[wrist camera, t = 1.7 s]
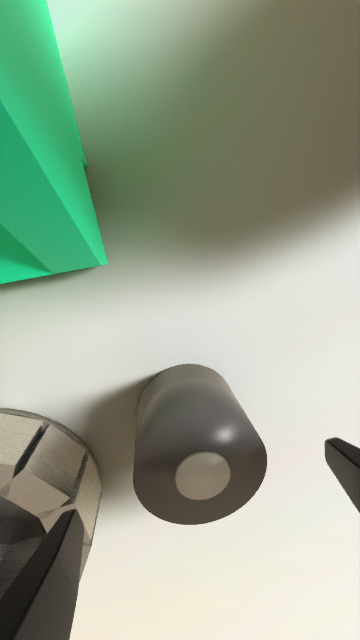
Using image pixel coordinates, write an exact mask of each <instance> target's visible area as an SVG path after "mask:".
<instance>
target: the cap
mask: <svg viewBox="0 0 360 640" xmlns="http://www.w3.org/2000/svg"><path fill="white" fill-rule="evenodd" d="M266 468H267V454H266V449H265V446H264V444H263V442H262V440H261V438H260V437H259V435H258V433H257V432H256V430H255V428H254V427H253V425H252V424H251V422H250V420H249V419H248V417H247V415H246V414H245V412H244V410H243V409H242V407H241V406H240V404H239V402H238V401H237V399H236V397H235V396H234V394H233V392H232V391H231V389H230V388H229V386H228V384H227V383H226V381H225V380H224V379H223V377H222V376H220V375H219V374H218V373H217V372H215V371H214V370H212V369H210V368H208V367H205V366H202V365H196V364H183V365H177V366H174V367H170V368H168V369H166V370H164V371H162V372H160V373H159V374H157V375H156V376H155V377H153V378H152V379H151V380H150V381H149V383H148V384H147V385H146V386H145V388H144V390H143V391H142V394H141V396H140V399H139V403H138V414H137V428H136V443H135V457H134V471H133V485H134V489H135V493H136V495H137V497H138V499H139V501H140V502H141V504H142V505H143V506H144V507H145V508H146V509H147V510H148V511H149V512H150V513H152V514H153V515H155V516H156V517H158V518H160V519H162V520H165V521H168V522H171V523H176V524H184V525H196V524H204V523H208V522H213V521H216V520H219V519H221V518H224V517H226V516H228V515H230V514H232V513H233V512H235V511H237V510H238V509H239V508H241V507H242V506H243V505H245V504H246V503H247V502H248V501H249V500H250V499H251V498H252V497H253V496H254V494H255V493H256V492H257V490H258V489H259V487H260V485H261V483H262V481H263V479H264V476H265V473H266Z"/></svg>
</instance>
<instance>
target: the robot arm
mask: <svg viewBox="0 0 360 640" xmlns="http://www.w3.org/2000/svg"><path fill="white" fill-rule="evenodd" d="M325 459H326V462H327V464H328V465H329V467H330V468H331V470H332V472H333V473H334V475H335V476H336V478H337V479H338V481H339V482H340V484H341V485H342V487H343V489H344V490H345V492H346V493H347V495H348V496H349V498H350V499H351V501H352V502H353V504H354V505H355V507H356V508H357V510H358V511H359V513H360V448H358V447H356V446H354V445H352V444H350V443H348V442H346V441H343V440H341V439H339V438H336V437H334V438H330V439H327V440H326V441H325ZM83 541H84V525H83V522H82V520H81V518H80V515H79V513H78V511H77V510H76V509H71V510H68V511H65V512H63V513H62V514H61V515H60V517H59V518H58V519H57V521H56V522H55V524H54V525H53V526H52V528H51V529H50V531H49V532H48V533H47V535H46V536H45V538H44V539H43V540H42V542H41V543H40V545H39V546H38V547H37V549H36V550H35V551H34V553H33V554H32V556H31V557H30V558H29V560H28V561H27V563H26V564H25V565H24V567H23V568H22V570H21V571H20V572H19V574H18V575H17V577H16V578H15V579H14V581H13V582H12V583H11V585H10V586H9V588H8V589H7V590H6V592H5V593H4V595H3V596H2V597H1V599H0V640H69V638H70V633H71V628H72V622H73V617H74V612H75V607H76V601H77V595H78V587H79V578H80V569H81V560H82V550H83Z"/></svg>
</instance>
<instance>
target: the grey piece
mask: <svg viewBox="0 0 360 640" xmlns="http://www.w3.org/2000/svg"><path fill="white" fill-rule="evenodd" d="M101 489H102V485H101V477H100V471H99V468H98V464H97V462H96V460H95V458H94V456H93V454H92V453H91V451H90V450H89V448H88V447H87V446H86V444H85V443H84V442H83V441H82V440H81V439H80V438H79V437H78V436H76V435H75V434H74V433H73V432H72V431H70V430H69V429H67V428H66V427H64V426H63V425H61V424H59V423H57V422H55V421H53V420H51V419H49V418H46V417H43V416H41V415H38V414H34V413H30V412H26V411H21V410H14V409H0V599H1V597H2V596H3V595H4V593H5V592H6V590H7V589H8V588H9V586H10V585H11V583H12V582H13V581H14V579H15V578H16V577H17V575H18V574H19V572H20V571H21V570H22V568H23V567H24V565H25V564H26V563H27V561H28V560H29V558H30V557H31V556H32V554H33V553H34V551H35V550H36V549H37V547H38V546H39V545H40V543H41V542H42V540H43V539H44V538H45V536H46V535H47V533H48V532H49V531H50V529H51V528H52V526H53V525H54V524H55V522H56V521H57V519H58V518H59V517H60V515H61V514H62V513H63V512H65V511H68V510H71V509H76V510H77V511H78V513H79V515H80V518H81V520H82V522H83V525H84V541H83V550H82V560H81V569H80V578H79V582H80V579H81V576H82V573H83V570H84V567H85V564H86V561H87V558H88V555H89V552H90V549H91V546H92V540H93V535H94V530H95V525H96V520H97V515H98V510H99V505H100V500H101V495H102V491H101Z"/></svg>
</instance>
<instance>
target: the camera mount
mask: <svg viewBox="0 0 360 640" xmlns="http://www.w3.org/2000/svg"><path fill="white" fill-rule="evenodd" d="M84 167H87V162H86V158H85V154H84V150H83V146H82V142H81V138H80V134H79V130H78V126H77V122H76V118H75V114H74V110H73V106H72V102H71V98H70V94H69V90H68V86H67V82H66V78H65V74H64V70H63V66H62V62H61V58H60V54H59V50H58V46H57V42H56V38H55V34H54V30H53V26H52V22H51V17H50V13H49V9H48V6H47V3H46V1H45V0H0V284H3V283H8V282H14V281H19V280H25V279H30V278H35V277H41V276H46V275H52V274H57V273H63V272H68V271H74V270H79V269H85V268H90V267H96V266H101V265H106V264H108V261H107V257H106V253H105V249H104V245H103V241H102V237H101V233H100V229H99V225H98V221H97V217H96V213H95V210H94V206H93V202H92V198H91V194H90V190H89V186H88V182H87V178H86V174H85V170H84Z"/></svg>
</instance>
